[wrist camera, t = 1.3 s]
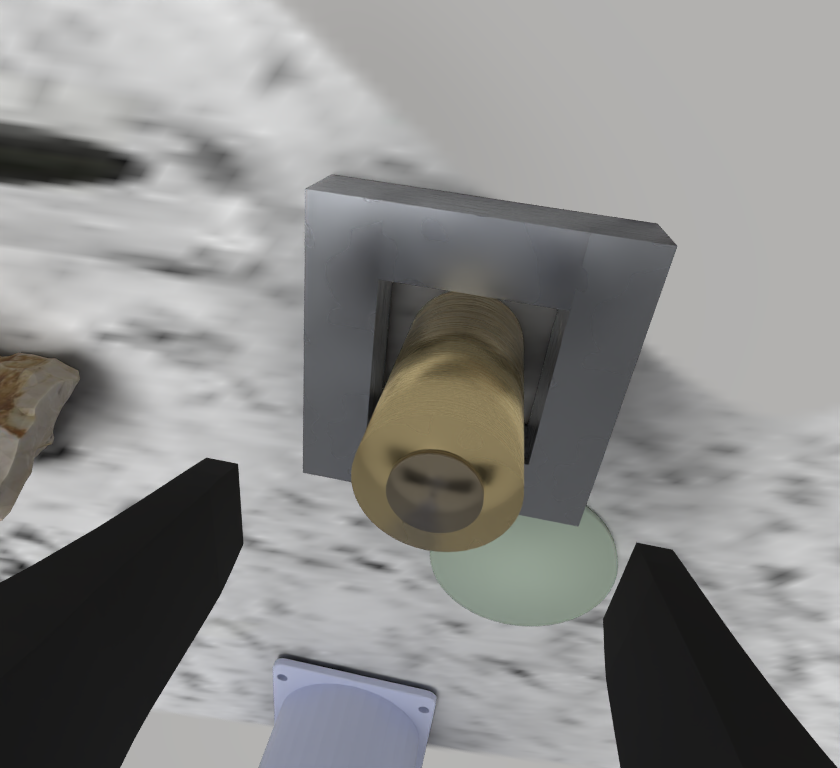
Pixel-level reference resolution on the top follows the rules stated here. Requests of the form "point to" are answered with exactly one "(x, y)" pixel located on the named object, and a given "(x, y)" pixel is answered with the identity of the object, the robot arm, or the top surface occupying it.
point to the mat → (533, 572)
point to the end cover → (448, 429)
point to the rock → (28, 416)
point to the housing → (489, 277)
